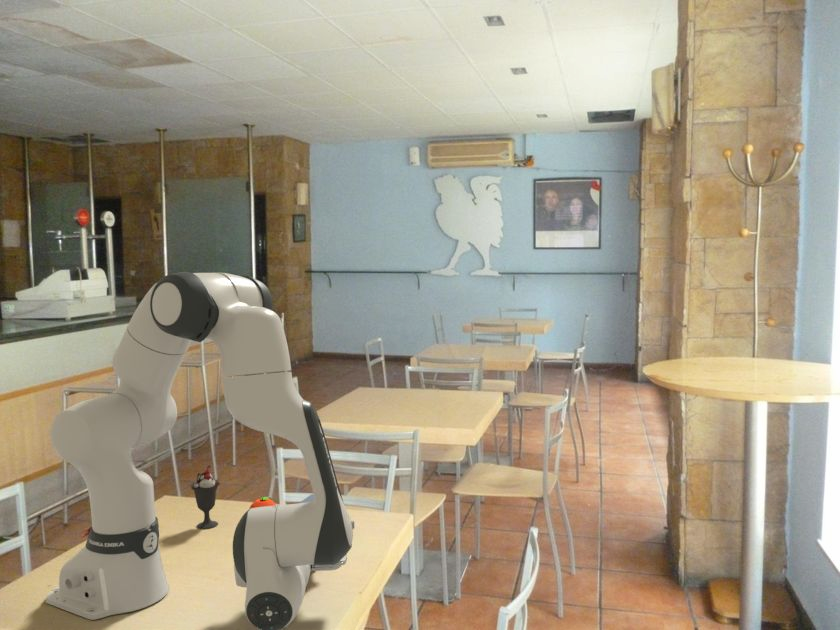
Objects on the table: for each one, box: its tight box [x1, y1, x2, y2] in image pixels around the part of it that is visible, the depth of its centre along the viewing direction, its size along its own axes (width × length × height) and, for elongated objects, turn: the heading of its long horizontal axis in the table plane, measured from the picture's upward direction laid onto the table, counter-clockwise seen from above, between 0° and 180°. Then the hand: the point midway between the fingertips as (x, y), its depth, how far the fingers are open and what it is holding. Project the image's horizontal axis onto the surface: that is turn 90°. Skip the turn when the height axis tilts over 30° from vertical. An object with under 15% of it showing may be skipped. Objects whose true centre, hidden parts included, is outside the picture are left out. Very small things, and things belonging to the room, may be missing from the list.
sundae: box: [190, 464, 221, 530], centre depth 170 cm, size 7×7×15 cm
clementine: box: [248, 496, 277, 510], centre depth 168 cm, size 8×7×7 cm
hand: (296, 535), depth 136 cm, fingers closed on terracotta brick, 7 cm apart
